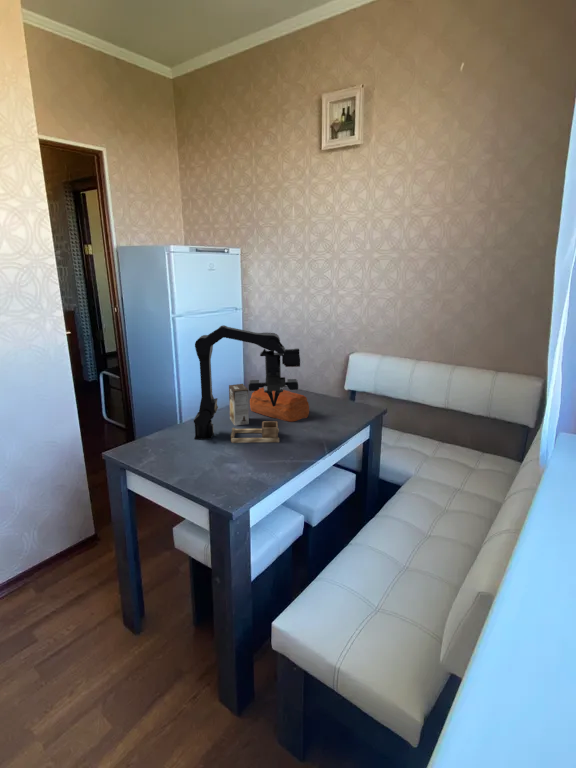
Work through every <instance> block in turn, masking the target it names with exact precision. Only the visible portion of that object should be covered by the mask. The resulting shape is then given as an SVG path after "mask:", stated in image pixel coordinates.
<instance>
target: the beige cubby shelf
mask: <svg viewBox="0 0 576 768" xmlns="http://www.w3.org/2000/svg"><path fill="white" fill-rule="evenodd" d="M279 431H280V430H279V427H278V434H279ZM236 434H262V428H236V427H232V428H231V433H230V442H231V443H233V444H238V443H239V444H240V443H244V444H245V443H248V444H249V443H251V444H252V443H280V437H278V438H262V437H235V436H236Z"/></svg>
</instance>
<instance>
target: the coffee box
mask: <svg viewBox="0 0 576 768" xmlns="http://www.w3.org/2000/svg"><path fill="white" fill-rule="evenodd" d="M228 398H229V399H228V400H229V420H230V421H231V423H232V424H233V425H234V427H236V426H243V425H249V424H250V423H249V422H250V421H249V388H247V387H246V385H245V384H244V383H237V384H229V385H228Z"/></svg>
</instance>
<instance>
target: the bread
mask: <svg viewBox="0 0 576 768" xmlns="http://www.w3.org/2000/svg"><path fill="white" fill-rule="evenodd" d="M272 393H273V400H274V395H275V391H272ZM249 407H250V411H251V412H254V413H256V414H259V415H263V416H264V417H265V416H266V417H270V418H273V419H278V420H281V421H284V422H290V423H292V422H296V421H297V422H298V421H300V420H301V419H307V418H308V417H309V414H310V404H309V401H308V397H307V396H305V395H304V394H300V393H296V392H291V390H286V389H283V392H280V394H279V396H278V398H277V402H276V405H275V406H273V405H272V402H271V400H270V397H269V395H268V394H267V393H265V392H264V387H263V388H259V389H258V390H257V391H252V393H251V397H250V398H249Z"/></svg>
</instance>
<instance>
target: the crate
mask: <svg viewBox="0 0 576 768" xmlns="http://www.w3.org/2000/svg"><path fill="white" fill-rule="evenodd" d="M278 424H279V423H278V421H277V420H276V421H274V420H272V421H268V420H266V421H265V420H264V421H262V422H261V429H262V433H261V438H279V433H278V428H279V426H278Z"/></svg>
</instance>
